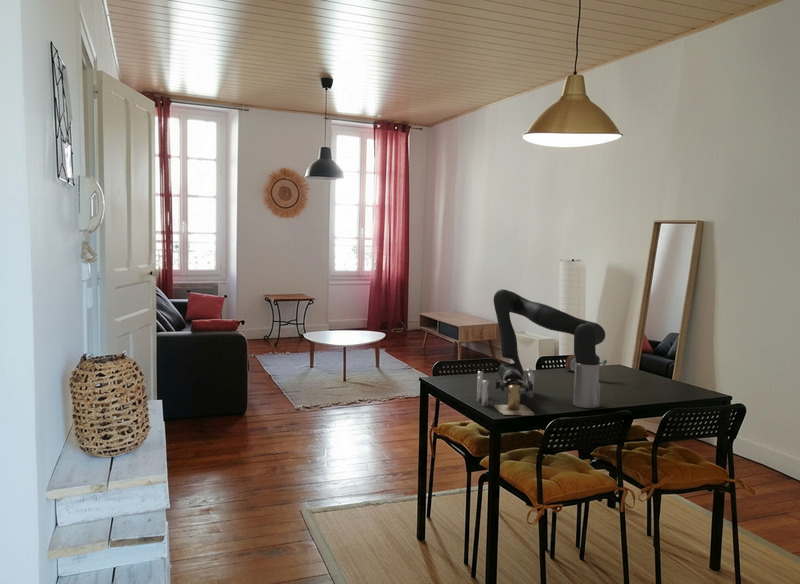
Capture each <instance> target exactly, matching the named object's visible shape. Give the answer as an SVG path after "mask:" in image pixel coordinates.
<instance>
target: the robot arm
mask: <svg viewBox="0 0 800 584" xmlns="http://www.w3.org/2000/svg"><path fill="white" fill-rule="evenodd" d="M493 305H494V310H495V316H496V319H497V324H498V329H499V331H498V332H499V337H500V352H501V353H500V354H501V356H502V358H504V359H509V360H512V361H513V362H511V363H510V362H509V363H502V364H500V365H499V367H498V368H497V369H498V370H497V373H498V376H499V378H500V379H498V378H496V379H495V389H496V390H499V389H500V391H502V392H505V391H507V390H508V391H509V385H511V384H515V385H520V392H521V391H522V392H523V391H524V392H525V394H527V392H529V390H530V391H533V392H534V390H533V383H532V382H531V381H528V382H527V383H526V381H524V380H523V377H524V368H523V366H522V363H521V361H520V357H519V352H518V350H519V349H518V340H517V336H516V332H515V329H514V327H513V324H512V320H511V315H510V313H512V314H517V315H520V316H522V317H525V318H526V319H527V320H529V321H530V322H531V323H533V324H535V325H538V326H539V327H542V328H545V329H547V330H549V331H555V332H559V333H565V334H569V335H573V355H575V358H576V361H575V371H574V379H573V380H574V381H573V382H574V383H573V398H572V399H573V400H572V401H573V402H572V404H573V405H574V406H576V407H579V408H584V409H593V408H594V409H595V408H599V407H600V398H601V397H600V396H601V383H600V382H599V381H600V380H599V378H600V377H599V376H600V368H599V366H600V365H601V364H600V363H601V362H600V359H601V358H600V356H599V355H597V352H596V349H597V348H596V346H598V345H601V344H602V342H604V341H605V340H606V331H605V329H604V328H603V326H601V325H600V324H599V323H597V322H594V321H590V320H585V319H582V318H578V317H576V316H574V315H571V314H569V313H567V312H564V311H562V310H560V309H557V308H555V307H552V306H551V305H548V304H545V303H540V302H536V301H531V300H529V299H527V298H525V297H523V296H521V295H519V294H518V293H516V292H514V291H511V290H507V289H499V290H497V291H496V292H495V294H494V295H493Z"/></svg>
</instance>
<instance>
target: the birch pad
mask: <svg viewBox="0 0 800 584" xmlns="http://www.w3.org/2000/svg"><path fill="white" fill-rule="evenodd" d="M493 408H495V410H497V412H498V413H500V414H501V413H502V414H503V415H521V416H535V412H533V410H531V409H530V408H529V407H527V405H524V404H520V409H519V410H509V409H508V404H494V405H493ZM502 414H501V415H502ZM503 415H502V416H503Z"/></svg>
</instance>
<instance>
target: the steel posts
mask: <svg viewBox="0 0 800 584" xmlns="http://www.w3.org/2000/svg"><path fill="white" fill-rule="evenodd" d="M525 375H526V377H525V378H526V379H525V383H527V382H528V381H531V382H532V383H533V391H530V390H529V392H527V393H526V397H527V398H528V399H533V398H534V388H535V387H534V385H535V373H534V372H533V368H526V374H525ZM476 383H477V384H476V402H477V403H481V407H485V406H486V407H488V406H489V389H490V388H489V387H490V381H489V379H484V371H482V370H481V371H480V370H478V371H477V380H476Z"/></svg>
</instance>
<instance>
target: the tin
mask: <svg viewBox="0 0 800 584" xmlns="http://www.w3.org/2000/svg"><path fill="white" fill-rule="evenodd" d="M575 361H576V358H575V355H574V354H570V355H568V357H567V358H566V359H565V364H564V366H565V370H567V371H568V372H573V373H575Z"/></svg>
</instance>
